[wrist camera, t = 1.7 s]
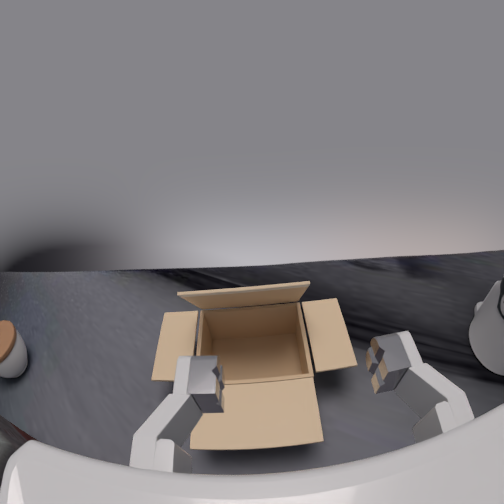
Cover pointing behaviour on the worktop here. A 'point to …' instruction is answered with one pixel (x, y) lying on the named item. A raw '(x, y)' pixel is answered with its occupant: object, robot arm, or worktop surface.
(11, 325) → the lidded jar
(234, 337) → the carton box
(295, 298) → the flap
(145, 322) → the worktop surface
